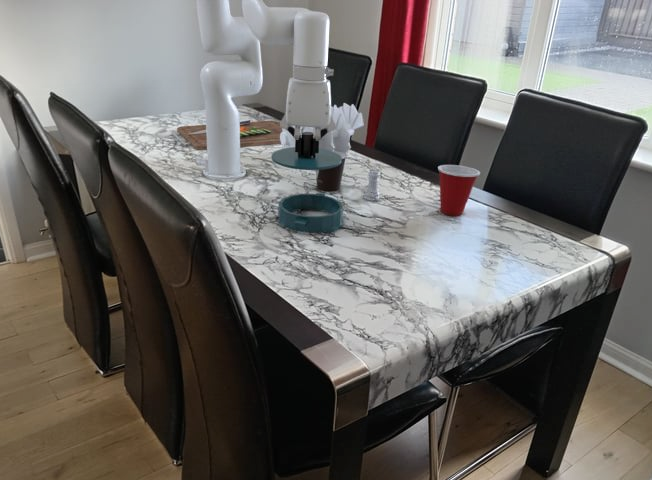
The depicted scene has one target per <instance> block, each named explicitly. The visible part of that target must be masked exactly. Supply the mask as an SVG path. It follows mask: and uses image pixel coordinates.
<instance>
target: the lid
mask: <svg viewBox="0 0 652 480" xmlns="http://www.w3.org/2000/svg"><path fill="white" fill-rule="evenodd" d="M313 137H314V133H312V132H302V135H301V156H300V157H298V152H295V147H292V148H284V149H283V148H281V149H278V150H277V149H276V150H275V151H274V152H272V153H271V156H270V157H271V161H272V162H273V163H275V165H279V166H281V167H284V168H288V169H292V170H293V169H294V170H300V171H301V170H302V171H316V170H323V169H329V168H333V167H336V166H338V165H340V164H341V162H342V158H341V156H340V155H339V154H337V153H335V152H332V151H329V150H325V149H320V148H319V153H316V156H315V158H313V157H312V155H313Z"/></svg>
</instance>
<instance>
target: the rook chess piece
mask: <svg viewBox="0 0 652 480" xmlns="http://www.w3.org/2000/svg"><path fill="white" fill-rule="evenodd" d="M367 175H368V176H369V177H368V184H367V187H366V189H365V191H364V193H363V194H364V195H363V198H364V199H365V200H367V201H368V202H375V201H376V202H377V201H379V200H380V199H381V198H380V195H381V194H380V191H379V188H378V187H379V186H378V182H379V177H380V176H381V174H380V170H379V169H375V168H373V169H372V168H371V169H369V172H368V173H367Z"/></svg>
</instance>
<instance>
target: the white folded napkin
mask: <svg viewBox="0 0 652 480" xmlns="http://www.w3.org/2000/svg"><path fill="white" fill-rule="evenodd" d="M331 116H332V118H333V120H334V123H335V125H336V129H335V130H333V131H331V132H328V133H327V134H326V135H324V136H323V137H322V138H321V139H320V140H319V148H320V149H325V150H329V151H336V152H341V153H343V154H345V155H346V158H348V157H349V154H348V152H349V151H350V149H351V148H352V146H351V143H350V139H351V136H353V135H354V134H355V130H357V129H359V128H362V127H364V126H365V124H364V123H365V122H364V117H363V113H362V112H359V111H358V110H357V108H356V106H355V104H354V103H352V104H351V105H349V104H347V103H345V102H343V104H342V105H341V106H337V104H333V106H332V105H331ZM291 126H292V125H291ZM293 127H294V128H295V126H293ZM326 127H327V126H326ZM323 128H324V127H320V129H323ZM302 132H312V133H314V136H315V127H304V126H301V128H300V135H302ZM313 138H314V137H313ZM280 141H281V143H280V145H281V149H284V148H292V147H295V139H294V137H293V136H292V135H291V134H290V133H289V132H288V131H287V130H285V129H283V128H282V132H281V134H280Z"/></svg>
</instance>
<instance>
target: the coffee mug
mask: <svg viewBox="0 0 652 480" xmlns="http://www.w3.org/2000/svg"><path fill="white" fill-rule="evenodd" d="M332 152H335V153H337V154H339V155H340V156H341V158H342V162H341V164H340V165H338V166H336V167H333V168H329V169H323V170H315V177H316V189H317V190H319V191H320V192H326V193H334V192H338V191H340V189H341V184H342V178H343V174H344V169H345V164H346V159H347V157H346V155H345V154H343V153H341V152H336V151H334V150H333V151H332Z"/></svg>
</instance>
